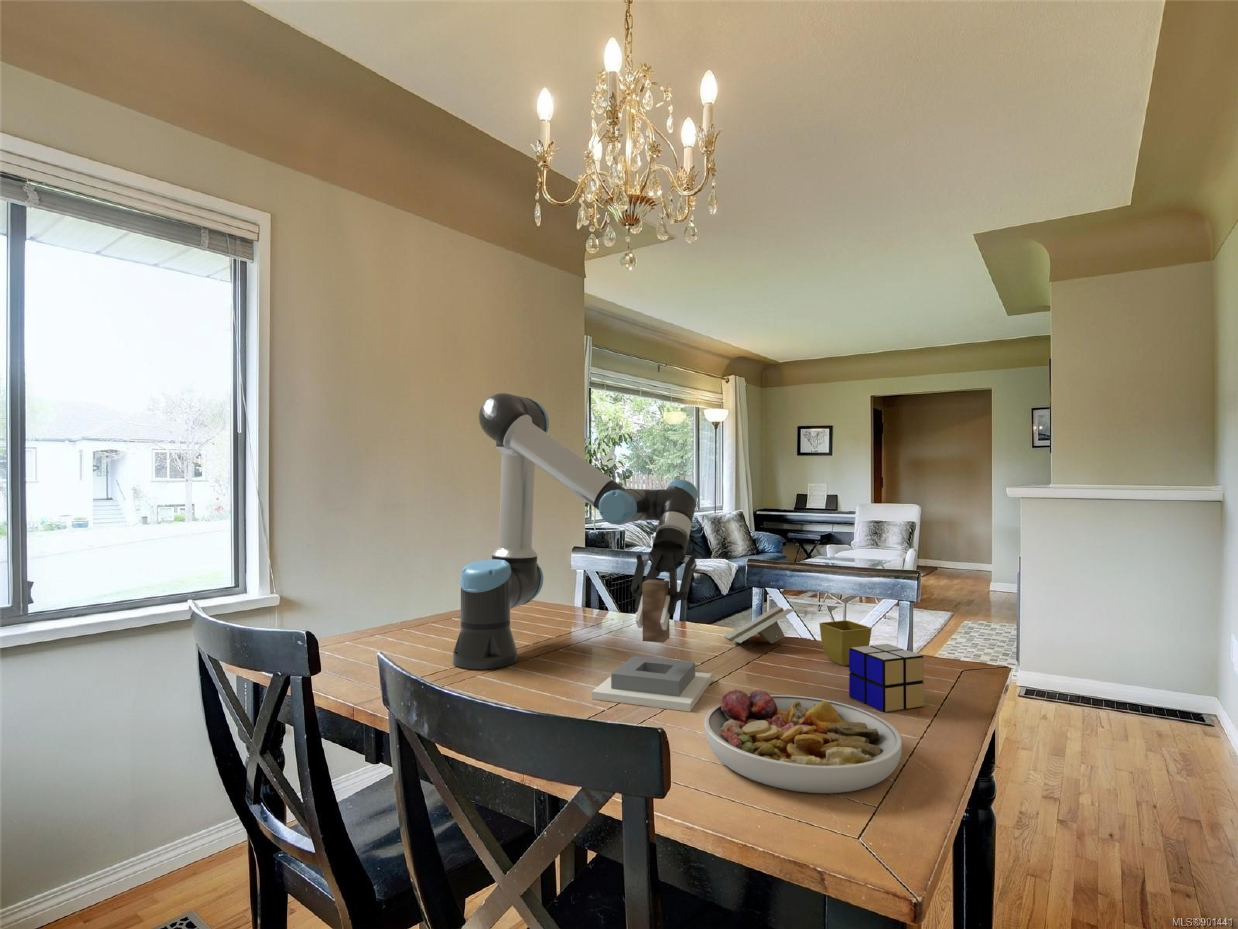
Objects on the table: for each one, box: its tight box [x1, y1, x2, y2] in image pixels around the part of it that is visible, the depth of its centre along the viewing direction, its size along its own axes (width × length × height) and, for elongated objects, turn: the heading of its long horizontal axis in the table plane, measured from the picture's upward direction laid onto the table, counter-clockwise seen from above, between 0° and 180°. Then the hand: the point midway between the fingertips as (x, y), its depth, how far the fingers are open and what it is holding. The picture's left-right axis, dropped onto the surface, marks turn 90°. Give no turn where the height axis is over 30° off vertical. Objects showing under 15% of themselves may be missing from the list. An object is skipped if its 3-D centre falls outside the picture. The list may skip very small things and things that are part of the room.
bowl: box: [704, 689, 903, 794], centre depth 105 cm, size 30×30×8 cm
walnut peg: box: [641, 579, 670, 644], centre depth 137 cm, size 4×4×12 cm
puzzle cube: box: [848, 643, 925, 714], centre depth 131 cm, size 10×10×10 cm
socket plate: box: [591, 655, 713, 713], centre depth 137 cm, size 20×20×4 cm
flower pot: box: [819, 620, 872, 667], centre depth 158 cm, size 9×9×9 cm
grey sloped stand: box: [724, 606, 796, 645], centre depth 175 cm, size 19×10×17 cm
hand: (650, 625), depth 134 cm, fingers closed on walnut peg, 4 cm apart
